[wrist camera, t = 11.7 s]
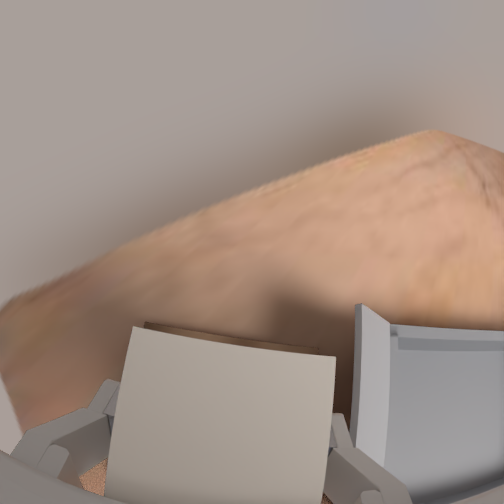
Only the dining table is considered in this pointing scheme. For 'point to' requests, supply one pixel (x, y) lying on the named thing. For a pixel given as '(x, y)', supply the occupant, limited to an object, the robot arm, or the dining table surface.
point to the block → (219, 424)
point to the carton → (430, 406)
